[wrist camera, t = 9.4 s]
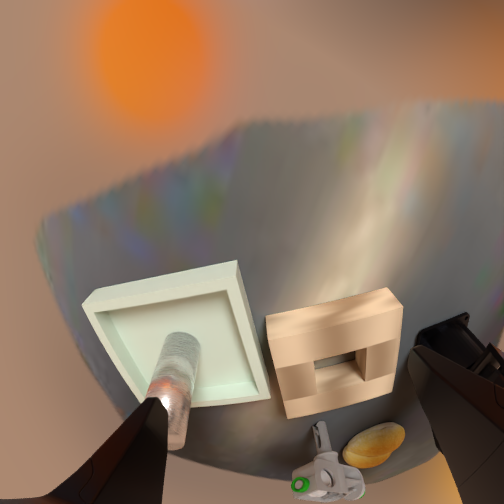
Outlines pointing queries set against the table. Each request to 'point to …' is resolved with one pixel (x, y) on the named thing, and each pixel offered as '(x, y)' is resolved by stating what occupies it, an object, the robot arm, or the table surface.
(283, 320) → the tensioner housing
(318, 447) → the mechanical component
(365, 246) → the table surface
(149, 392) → the pin
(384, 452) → the bread roll
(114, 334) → the parts tray
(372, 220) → the table surface
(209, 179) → the table surface
